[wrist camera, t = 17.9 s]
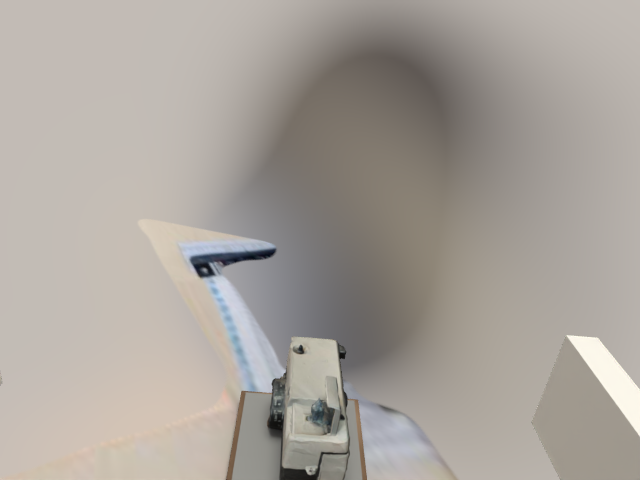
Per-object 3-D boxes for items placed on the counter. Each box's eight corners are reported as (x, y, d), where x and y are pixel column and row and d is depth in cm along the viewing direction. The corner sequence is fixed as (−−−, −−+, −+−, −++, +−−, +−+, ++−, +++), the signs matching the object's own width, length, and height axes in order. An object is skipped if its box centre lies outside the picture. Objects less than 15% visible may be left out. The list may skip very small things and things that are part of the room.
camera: (272, 381, 58) (279, 307, 54) (338, 387, 59) (350, 314, 54) (257, 500, 45) (265, 414, 40) (342, 506, 45) (359, 422, 41)
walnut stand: (222, 510, 46) (223, 493, 45) (240, 404, 58) (241, 388, 57) (366, 519, 47) (370, 502, 46) (355, 413, 59) (358, 397, 58)
